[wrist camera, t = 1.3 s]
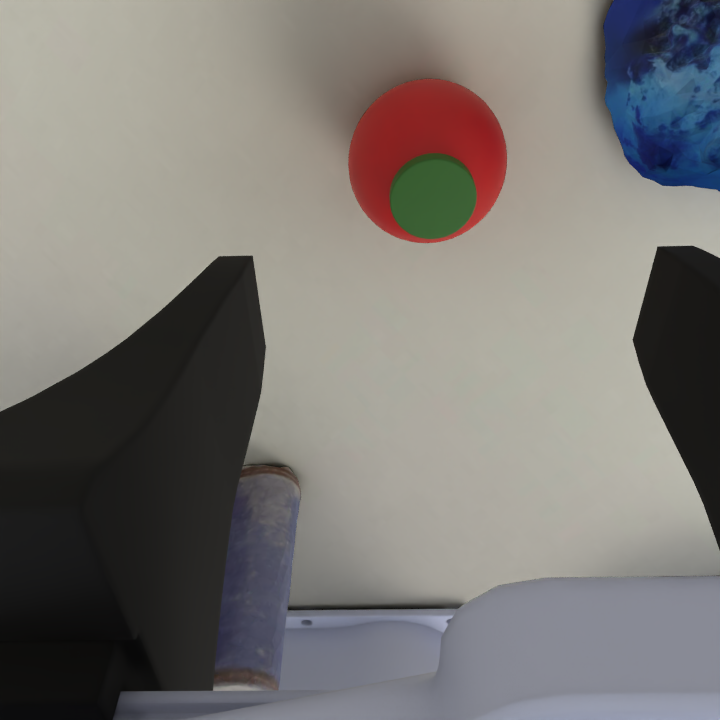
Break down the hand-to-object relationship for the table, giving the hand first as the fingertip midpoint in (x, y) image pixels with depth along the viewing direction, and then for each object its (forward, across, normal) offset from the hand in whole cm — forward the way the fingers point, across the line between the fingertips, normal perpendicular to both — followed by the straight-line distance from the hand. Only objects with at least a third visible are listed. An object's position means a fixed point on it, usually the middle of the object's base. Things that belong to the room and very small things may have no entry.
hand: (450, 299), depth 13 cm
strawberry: (+8, 0, 0) cm, 8 cm away
